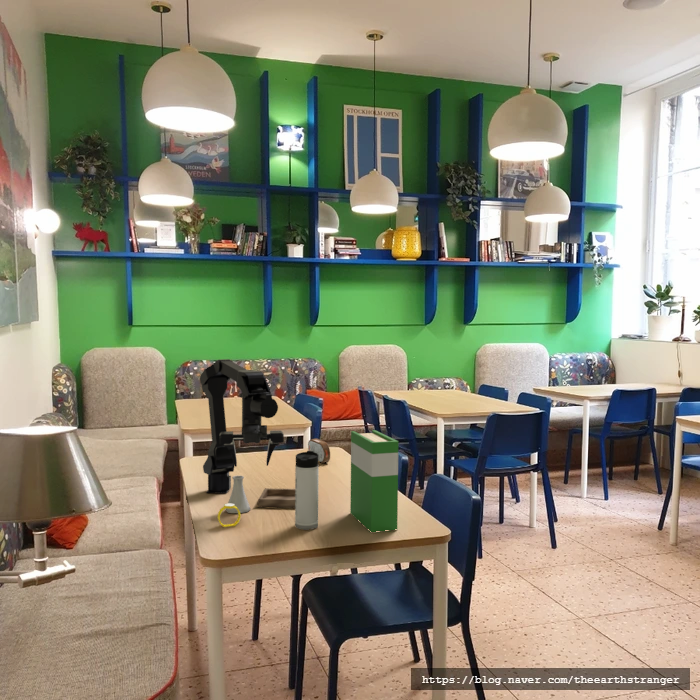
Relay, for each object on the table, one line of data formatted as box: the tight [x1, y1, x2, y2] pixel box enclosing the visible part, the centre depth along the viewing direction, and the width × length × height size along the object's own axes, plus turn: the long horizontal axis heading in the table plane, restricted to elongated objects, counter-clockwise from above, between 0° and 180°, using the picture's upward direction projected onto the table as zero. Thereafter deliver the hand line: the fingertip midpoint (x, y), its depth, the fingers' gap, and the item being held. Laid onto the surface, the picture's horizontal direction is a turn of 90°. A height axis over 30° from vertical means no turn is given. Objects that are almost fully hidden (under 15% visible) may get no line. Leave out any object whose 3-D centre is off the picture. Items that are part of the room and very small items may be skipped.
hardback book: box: [349, 429, 399, 533], centre depth 173 cm, size 18×7×24 cm, turn 18°
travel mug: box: [294, 450, 320, 531], centre depth 169 cm, size 6×7×20 cm
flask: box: [225, 475, 251, 514], centre depth 183 cm, size 7×7×10 cm
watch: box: [217, 502, 242, 528], centre depth 169 cm, size 6×3×6 cm, turn 111°
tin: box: [307, 437, 331, 464], centre depth 248 cm, size 15×3×8 cm, turn 30°
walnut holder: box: [257, 487, 295, 509], centre depth 192 cm, size 12×12×2 cm
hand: (251, 465), depth 186 cm, fingers open, 9 cm apart
